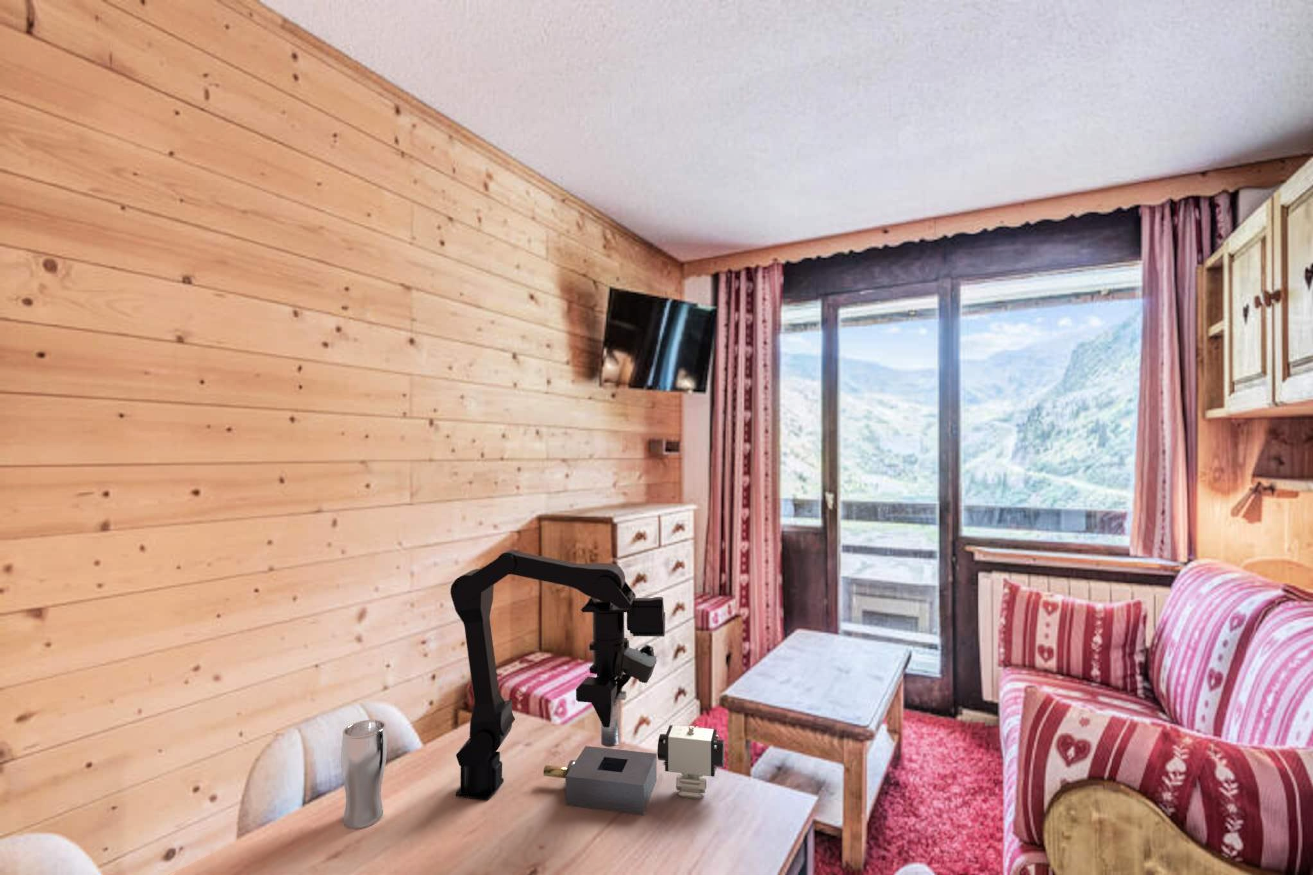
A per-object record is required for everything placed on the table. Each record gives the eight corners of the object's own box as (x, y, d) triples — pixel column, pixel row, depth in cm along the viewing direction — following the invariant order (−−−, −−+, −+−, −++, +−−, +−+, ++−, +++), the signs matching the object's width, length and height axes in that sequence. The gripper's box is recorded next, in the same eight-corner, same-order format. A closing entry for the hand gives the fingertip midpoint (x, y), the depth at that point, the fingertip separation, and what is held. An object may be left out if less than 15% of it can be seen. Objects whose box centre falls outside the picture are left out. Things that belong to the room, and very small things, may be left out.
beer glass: (330, 825, 99) (331, 733, 100) (363, 802, 106) (365, 716, 106) (362, 834, 97) (364, 740, 97) (395, 810, 103) (396, 722, 104)
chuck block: (533, 800, 106) (533, 772, 107) (555, 768, 117) (556, 742, 117) (643, 815, 102) (643, 785, 103) (656, 780, 113) (656, 753, 113)
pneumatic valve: (722, 804, 106) (722, 735, 106) (656, 797, 108) (657, 729, 108) (725, 787, 111) (725, 721, 111) (662, 780, 113) (663, 716, 114)
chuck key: (591, 745, 108) (590, 693, 108) (597, 736, 111) (596, 686, 111) (623, 748, 106) (623, 696, 107) (628, 739, 110) (627, 689, 110)
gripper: (639, 655, 98) (640, 752, 98) (662, 623, 116) (664, 704, 116) (574, 651, 101) (575, 745, 100) (607, 620, 119) (608, 700, 119)
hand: (609, 722), depth 109 cm, fingers closed on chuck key, 3 cm apart
